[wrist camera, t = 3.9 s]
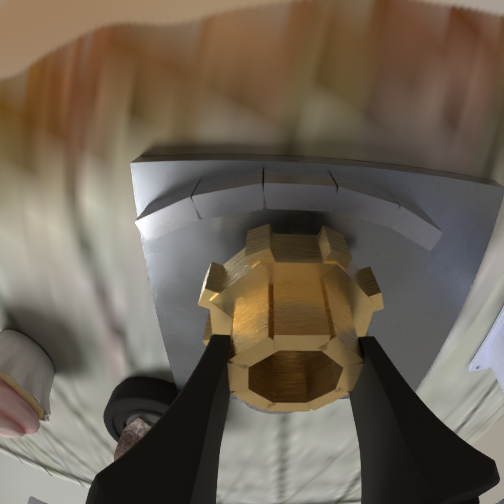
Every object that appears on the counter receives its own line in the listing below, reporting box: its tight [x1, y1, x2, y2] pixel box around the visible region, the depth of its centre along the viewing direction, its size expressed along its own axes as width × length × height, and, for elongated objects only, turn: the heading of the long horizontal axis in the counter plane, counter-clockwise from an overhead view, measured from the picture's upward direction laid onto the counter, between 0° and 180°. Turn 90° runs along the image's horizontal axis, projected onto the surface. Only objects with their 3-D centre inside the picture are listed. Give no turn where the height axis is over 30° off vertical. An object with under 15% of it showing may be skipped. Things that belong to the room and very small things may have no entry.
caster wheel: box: [103, 377, 178, 461], centre depth 23 cm, size 7×11×10 cm
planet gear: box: [198, 224, 384, 412], centre depth 12 cm, size 7×7×4 cm
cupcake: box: [0, 329, 54, 438], centre depth 19 cm, size 9×9×10 cm
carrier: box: [130, 154, 504, 414], centre depth 16 cm, size 18×17×4 cm
